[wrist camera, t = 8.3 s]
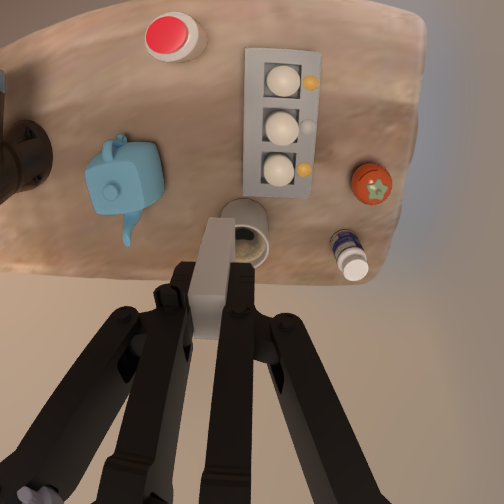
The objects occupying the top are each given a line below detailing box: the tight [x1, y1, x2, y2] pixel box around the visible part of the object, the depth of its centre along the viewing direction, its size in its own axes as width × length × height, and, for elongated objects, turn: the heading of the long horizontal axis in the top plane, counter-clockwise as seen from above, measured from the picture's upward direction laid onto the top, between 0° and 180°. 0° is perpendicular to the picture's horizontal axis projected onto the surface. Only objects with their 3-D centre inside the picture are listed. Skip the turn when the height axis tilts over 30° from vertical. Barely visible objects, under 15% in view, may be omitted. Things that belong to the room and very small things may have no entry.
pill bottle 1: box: [144, 12, 208, 62], centre depth 36 cm, size 8×8×11 cm
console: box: [243, 48, 322, 199], centre depth 46 cm, size 11×24×5 cm, turn 179°
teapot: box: [85, 134, 165, 247], centre depth 49 cm, size 12×18×12 cm
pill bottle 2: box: [331, 230, 368, 281], centre depth 57 cm, size 6×6×10 cm
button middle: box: [265, 111, 299, 146], centre depth 42 cm, size 5×5×4 cm
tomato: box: [351, 163, 392, 205], centre depth 50 cm, size 7×7×8 cm
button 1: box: [263, 152, 294, 187], centre depth 48 cm, size 5×5×4 cm
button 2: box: [266, 66, 300, 97], centre depth 40 cm, size 5×5×4 cm
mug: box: [201, 199, 269, 268], centre depth 54 cm, size 11×10×10 cm
